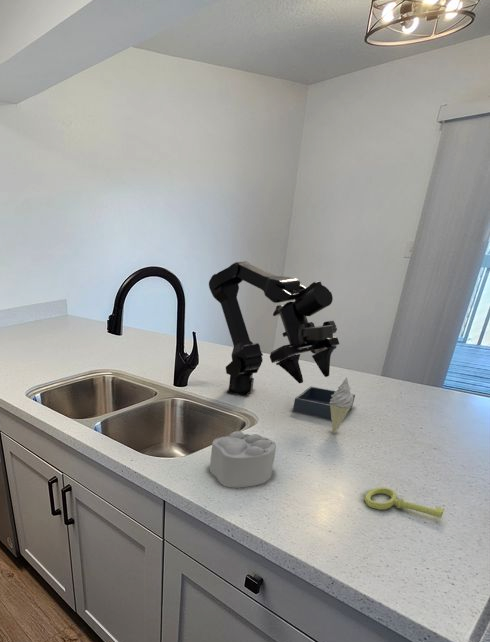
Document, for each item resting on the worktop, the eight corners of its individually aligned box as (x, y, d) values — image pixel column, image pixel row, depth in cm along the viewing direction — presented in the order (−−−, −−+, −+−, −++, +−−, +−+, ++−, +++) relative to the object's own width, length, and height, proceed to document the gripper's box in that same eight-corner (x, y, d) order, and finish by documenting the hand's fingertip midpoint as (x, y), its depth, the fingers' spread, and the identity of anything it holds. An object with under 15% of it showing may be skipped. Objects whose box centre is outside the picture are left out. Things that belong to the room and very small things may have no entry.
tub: (292, 411, 125) (294, 398, 123) (308, 398, 133) (310, 386, 131) (338, 421, 118) (341, 407, 116) (352, 407, 125) (355, 394, 123)
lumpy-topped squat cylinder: (205, 466, 101) (208, 432, 97) (256, 458, 102) (261, 425, 98) (226, 490, 91) (230, 453, 87) (282, 481, 93) (289, 445, 89)
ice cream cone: (343, 429, 113) (356, 374, 106) (346, 438, 109) (360, 381, 102) (321, 427, 115) (333, 373, 108) (324, 436, 110) (336, 380, 104)
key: (443, 524, 78) (447, 514, 77) (363, 507, 84) (366, 497, 83) (438, 503, 83) (442, 494, 82) (364, 488, 89) (366, 479, 88)
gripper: (291, 315, 104) (312, 376, 103) (347, 305, 111) (367, 363, 109) (260, 334, 115) (278, 389, 114) (312, 324, 121) (330, 377, 120)
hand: (314, 379), depth 114 cm, fingers open, 9 cm apart
